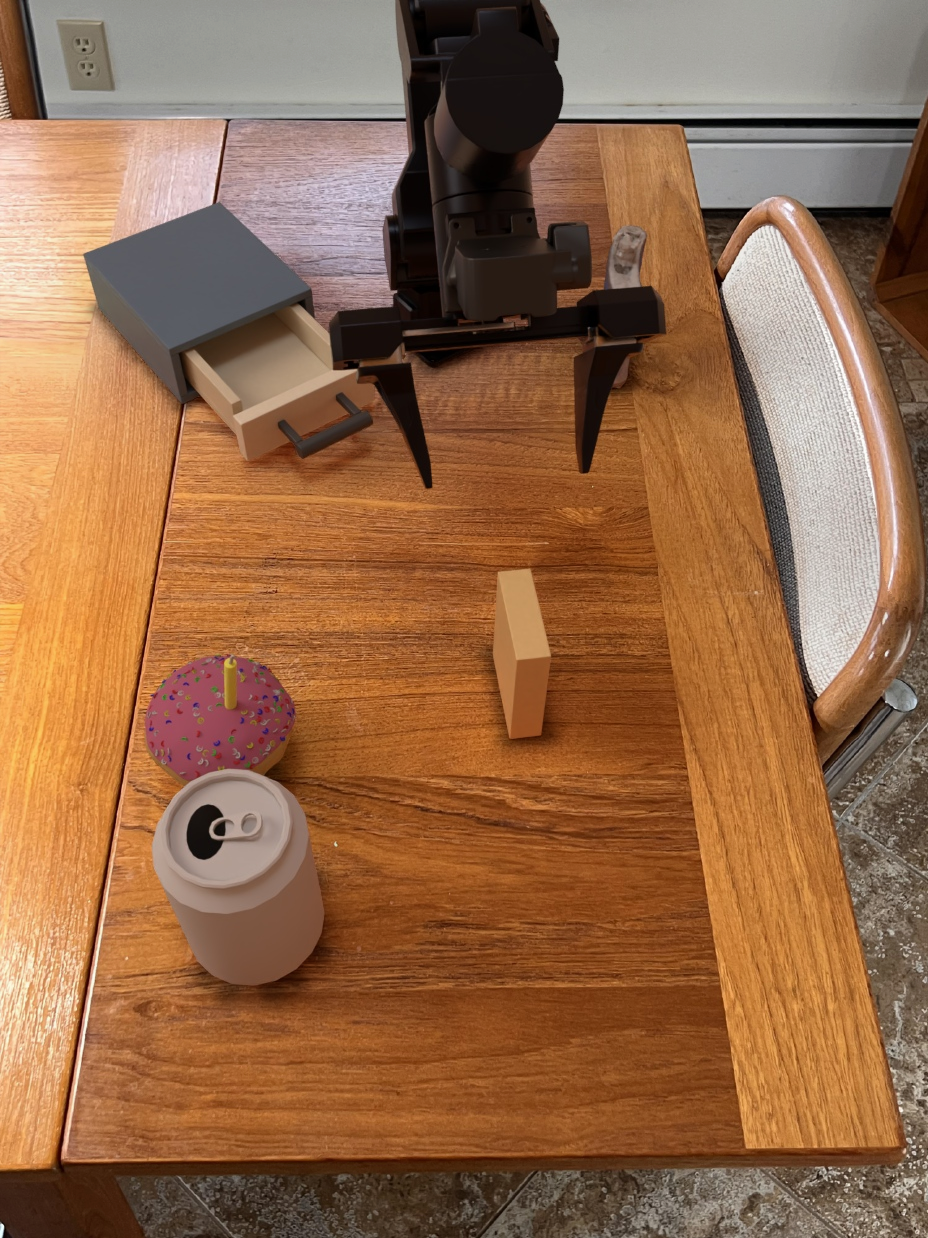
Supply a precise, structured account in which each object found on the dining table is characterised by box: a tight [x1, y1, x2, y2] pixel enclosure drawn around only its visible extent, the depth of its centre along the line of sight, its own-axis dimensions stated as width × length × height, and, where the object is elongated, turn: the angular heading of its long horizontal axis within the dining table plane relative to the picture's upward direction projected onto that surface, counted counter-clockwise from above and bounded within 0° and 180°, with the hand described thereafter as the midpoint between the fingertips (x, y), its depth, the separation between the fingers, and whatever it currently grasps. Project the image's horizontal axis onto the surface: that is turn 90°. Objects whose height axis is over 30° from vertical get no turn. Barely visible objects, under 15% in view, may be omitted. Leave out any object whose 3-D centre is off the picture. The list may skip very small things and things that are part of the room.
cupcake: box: [144, 653, 297, 787], centre depth 65 cm, size 9×8×12 cm
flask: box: [602, 224, 648, 389], centre depth 89 cm, size 9×3×11 cm, turn 172°
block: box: [492, 568, 552, 740], centre depth 70 cm, size 6×2×8 cm, turn 8°
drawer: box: [179, 302, 375, 462], centre depth 87 cm, size 17×11×4 cm, turn 37°
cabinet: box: [82, 201, 316, 405], centre depth 93 cm, size 14×12×5 cm
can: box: [151, 769, 325, 987], centre depth 59 cm, size 8×8×12 cm
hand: (507, 480), depth 67 cm, fingers open, 9 cm apart
